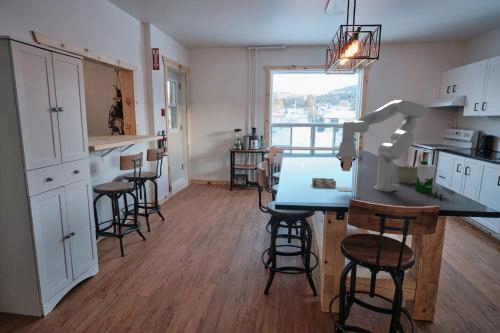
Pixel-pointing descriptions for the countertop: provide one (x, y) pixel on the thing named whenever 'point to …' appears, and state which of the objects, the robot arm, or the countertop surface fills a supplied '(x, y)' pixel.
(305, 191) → the countertop surface
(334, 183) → the shelf bay
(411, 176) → the planter bowl
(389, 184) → the robot arm
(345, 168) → the blank block
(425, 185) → the milk carton
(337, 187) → the tile pad
